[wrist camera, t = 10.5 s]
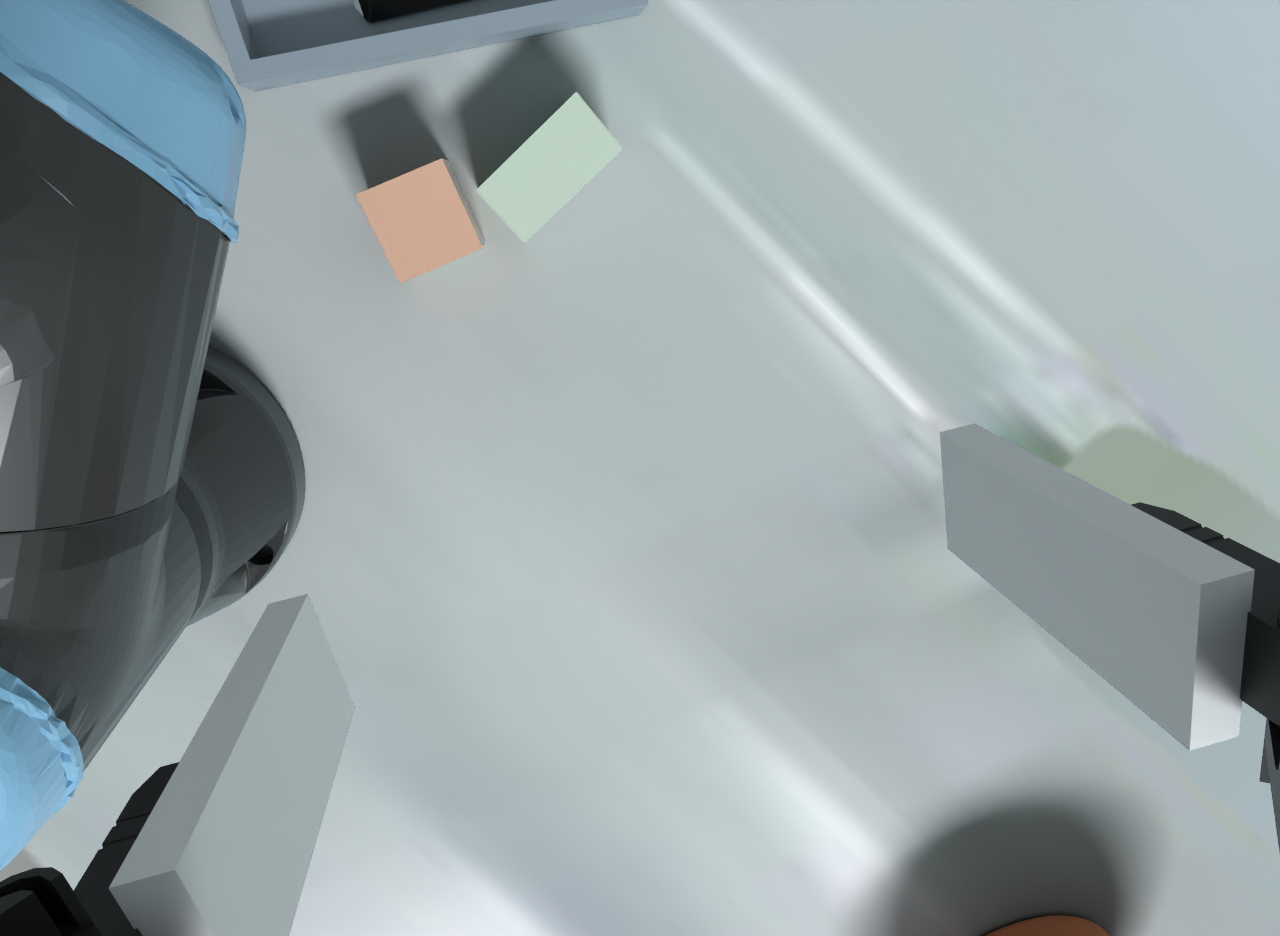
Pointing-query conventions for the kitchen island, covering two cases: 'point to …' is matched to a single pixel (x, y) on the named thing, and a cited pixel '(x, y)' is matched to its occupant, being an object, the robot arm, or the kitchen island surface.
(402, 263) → the cube terracotta
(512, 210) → the brick sage
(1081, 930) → the potted cactus
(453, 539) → the kitchen island surface
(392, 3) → the build plate
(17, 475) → the robot arm
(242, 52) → the tray
